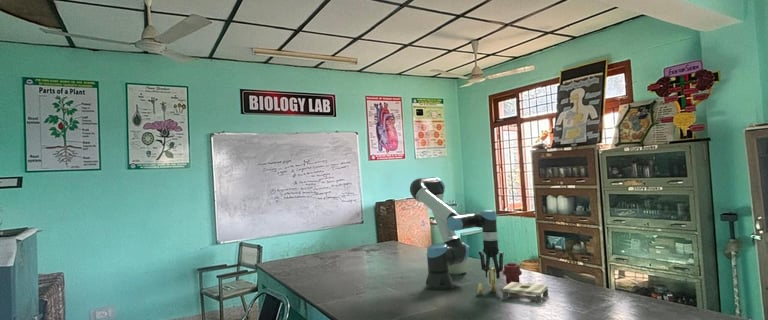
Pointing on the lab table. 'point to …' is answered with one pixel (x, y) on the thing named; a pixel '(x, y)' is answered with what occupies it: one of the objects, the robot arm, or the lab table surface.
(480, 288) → the short pin
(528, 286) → the stand
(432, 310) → the lab table surface
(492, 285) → the long pin
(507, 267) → the mechanical component
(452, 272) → the canister
